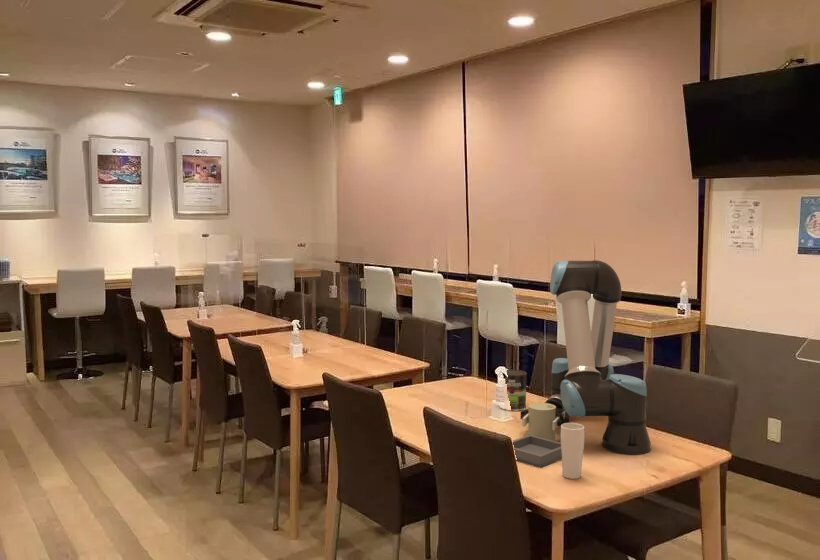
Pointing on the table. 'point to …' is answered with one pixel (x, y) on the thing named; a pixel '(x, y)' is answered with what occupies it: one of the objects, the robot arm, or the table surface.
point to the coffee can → (516, 389)
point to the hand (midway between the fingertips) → (538, 424)
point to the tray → (537, 450)
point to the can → (541, 420)
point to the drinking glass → (572, 449)
